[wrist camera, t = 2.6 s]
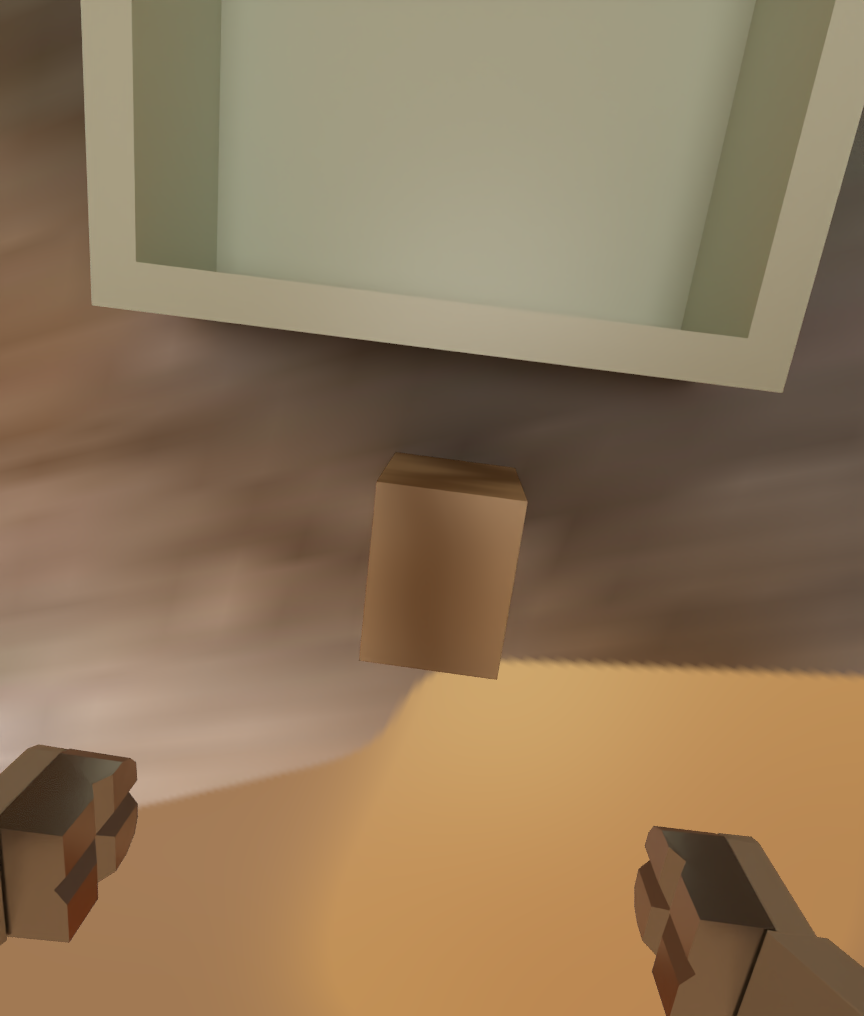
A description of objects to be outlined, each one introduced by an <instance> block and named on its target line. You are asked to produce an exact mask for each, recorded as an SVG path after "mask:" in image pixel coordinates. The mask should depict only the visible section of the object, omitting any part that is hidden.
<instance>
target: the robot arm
mask: <svg viewBox="0 0 864 1016" xmlns="http://www.w3.org/2000/svg"><path fill="white" fill-rule="evenodd" d="M136 781H137V769H136V762H135V761H134V760H132V759H131V758H126V757H120V756H113V755H107V754H101V753H94V752H88V751H81V750H75V749H64V748H57V747H51V746H45V745H36V746H33V747H30V748H28V749H27V750H25V751H24V752H23V753H22V754H21V755H20V756H19V757H18V758H17V759H16V760H15V761H14V762H13V763H11V764H10V765H9V766H8V767H7V768H6V769H5V770H4V771H3V772H2V773H1V774H0V945H1V944H3V943H4V942H5V941H6V940H7V936H8V937H17V938H28V939H38V940H49V941H58V942H68V943H69V942H70V941H71V939H72V938H73V936H74V935H75V933H76V932H77V930H78V929H79V927H80V925H81V924H82V922H83V921H84V919H85V918H86V916H87V915H88V913H89V912H90V910H91V909H92V907H93V906H94V904H95V903H96V901H97V900H98V882H99V881H101V880H103V879H104V878H106V877H108V876H109V875H111V874H112V873H114V872H115V871H116V870H117V868H118V867H119V865H120V864H121V862H122V861H123V859H124V857H125V856H126V854H127V852H128V849H129V847H130V844H131V842H132V839H133V836H134V834H135V829H136V824H137V818H138V804H137V802H136V801H135V800H134V798H133V797H132V796H131V794H130V793H129V791H130V789H131V788H132V786H133V785H134V784H135V782H136ZM645 848H646V850H647V853H648V856H649V859H650V860H649V861H648V862H647V863H646V864H644V865H643V866H642V867H641V868H639V870H638V874H637V879H636V883H635V901H634V902H635V904H634V905H635V906H634V907H635V913H636V919H637V924H638V927H639V931H640V934H641V937H642V940H643V942H644V943H645V944H646V945H647V946H648V947H649V948H650V949H651V950H652V951H653V952H654V954H655V955H656V959H655V962H654V966H653V969H652V973H653V976H654V979H655V982H656V985H657V989H658V992H659V995H660V998H661V1001H662V1004H663V1007H664V1010H665V1013H666V1016H864V968H863V967H862V966H861V965H859V964H858V963H857V962H856V961H855V960H854V959H852V958H851V957H850V956H849V955H847V954H846V953H845V952H844V951H842V950H841V949H840V948H839V947H837V946H836V945H835V944H834V943H833V942H831V941H830V940H829V939H827V938H819V937H817V936H816V935H815V933H814V931H813V930H812V928H811V927H810V925H809V924H808V922H807V920H806V918H805V917H804V915H803V914H802V912H801V910H800V909H799V907H798V906H797V904H796V902H795V901H794V899H793V897H792V896H791V894H790V893H789V891H788V889H787V888H786V886H785V885H784V883H783V881H782V880H781V878H780V876H779V875H778V873H777V871H776V870H775V868H774V867H773V865H772V863H771V862H770V860H769V859H768V857H767V855H766V854H765V852H764V850H763V849H762V847H761V846H760V844H759V843H758V842H757V841H756V840H755V839H753V838H752V837H747V836H739V835H730V834H721V833H719V834H715V833H708V832H699V831H691V830H683V829H674V828H666V827H658V826H653V828H652V829H651V830H650V832H649V833H648V837H647V840H646V844H645Z"/></svg>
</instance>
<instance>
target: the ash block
mask: <svg viewBox="0 0 864 1016" xmlns="http://www.w3.org/2000/svg"><path fill="white" fill-rule="evenodd" d="M527 503H528V501H527V499H526V496H525V493H524V491H523V488H522V486H521V483H520V480H519V478H518V475H517V473H516V470H515V468H512V467H505V466H497V465H489V464H482V463H474V462H466V461H459V460H451V459H444V458H436V457H428V456H421V455H413V454H405V453H398V452H396V453H395V454H394V456H393V457H392V459H391V460H390V462H389V463H388V465H387V467H386V468H385V470H384V471H383V473H382V474H381V476H380V477H379V479H378V480H377V482H376V493H375V503H374V513H373V523H372V533H371V544H370V554H369V564H368V574H367V584H366V595H365V605H364V615H363V625H362V636H361V646H360V656H359V661H366V662H373V663H380V664H388V665H395V666H402V667H409V668H416V669H424V670H431V671H438V672H445V673H452V674H460V675H467V676H474V677H481V678H488V679H497V676H498V670H499V665H500V659H501V653H502V647H503V642H504V636H505V630H506V624H507V619H508V613H509V607H510V601H511V595H512V590H513V584H514V578H515V572H516V566H517V561H518V555H519V549H520V543H521V537H522V532H523V526H524V520H525V514H526V508H527Z"/></svg>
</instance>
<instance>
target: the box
mask: <svg viewBox="0 0 864 1016" xmlns="http://www.w3.org/2000/svg"><path fill="white" fill-rule="evenodd" d="M81 22H82V50H83V77H84V105H85V132H86V160H87V187H88V214H89V242H90V269H91V297H92V305H94V306H102V307H110V308H118V309H126V310H133V311H141V312H149V313H157V314H165V315H173V316H181V317H189V318H196V319H204V320H212V321H220V322H228V323H236V324H244V325H251V326H259V327H267V328H275V329H283V330H291V331H299V332H307V333H314V334H322V335H330V336H338V337H346V338H354V339H362V340H370V341H377V342H385V343H393V344H401V345H409V346H417V347H425V348H432V349H440V350H448V351H456V352H464V353H472V354H480V355H488V356H495V357H503V358H511V359H519V360H527V361H535V362H543V363H551V364H558V365H566V366H574V367H582V368H590V369H598V370H606V371H613V372H621V373H629V374H637V375H645V376H653V377H661V378H669V379H676V380H684V381H692V382H700V383H708V384H716V385H724V386H732V387H739V388H747V389H755V390H763V391H771V392H779V393H783V389H784V385H785V382H786V378H787V375H788V371H789V368H790V364H791V361H792V357H793V354H794V350H795V347H796V343H797V339H798V336H799V332H800V329H801V325H802V322H803V318H804V315H805V311H806V308H807V304H808V301H809V297H810V293H811V290H812V286H813V283H814V279H815V276H816V272H817V269H818V265H819V262H820V258H821V255H822V251H823V247H824V244H825V240H826V237H827V233H828V230H829V226H830V223H831V219H832V216H833V212H834V209H835V205H836V201H837V198H838V194H839V191H840V187H841V184H842V180H843V177H844V173H845V170H846V166H847V163H848V159H849V155H850V152H851V148H852V145H853V141H854V138H855V134H856V131H857V127H858V124H859V120H860V117H861V113H862V109H863V106H864V0H81Z"/></svg>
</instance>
